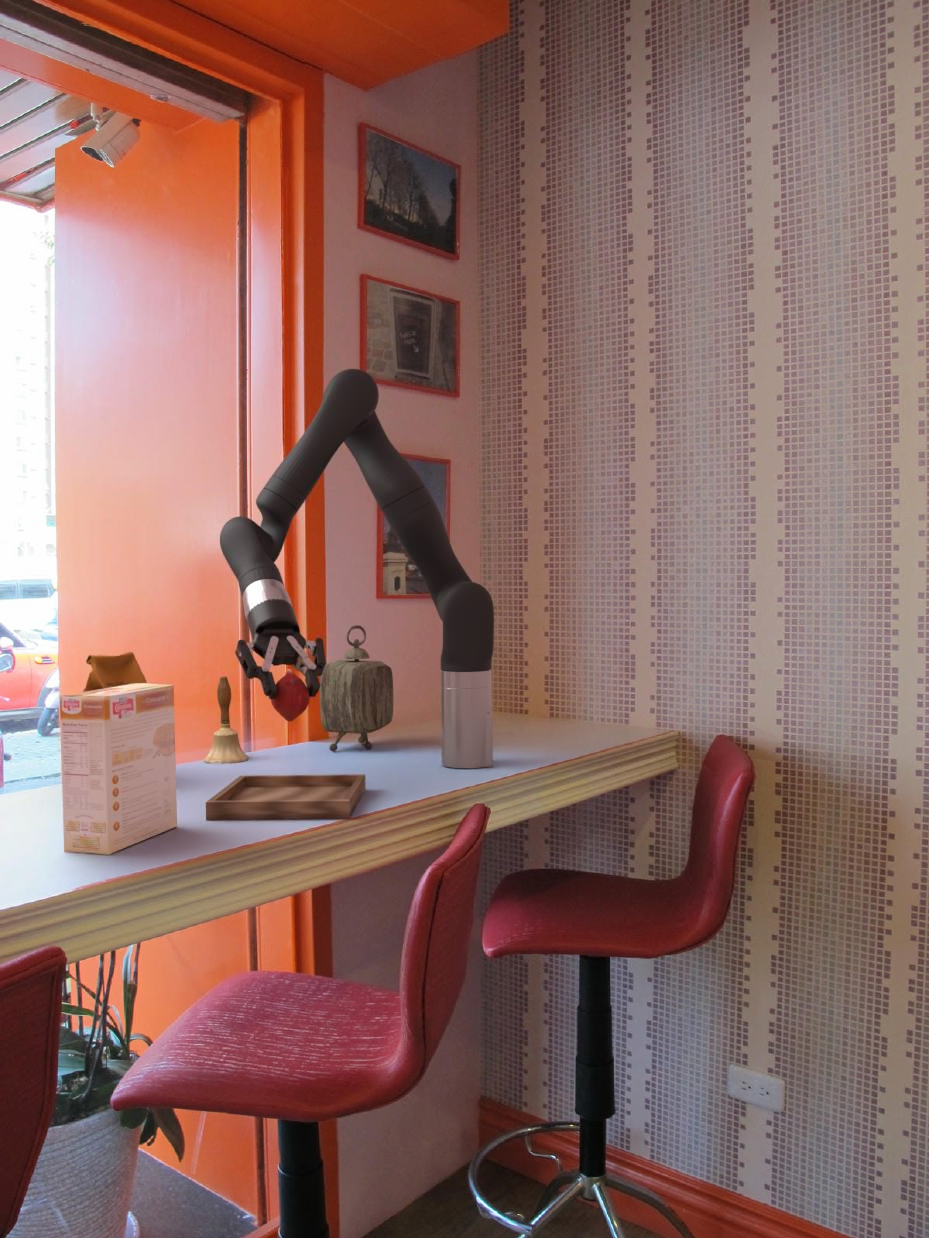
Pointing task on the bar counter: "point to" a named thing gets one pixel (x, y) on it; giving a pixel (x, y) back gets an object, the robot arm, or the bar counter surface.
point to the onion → (291, 696)
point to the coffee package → (113, 671)
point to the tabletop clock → (356, 694)
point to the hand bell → (225, 732)
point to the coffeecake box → (117, 766)
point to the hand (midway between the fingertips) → (294, 694)
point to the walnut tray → (287, 797)
